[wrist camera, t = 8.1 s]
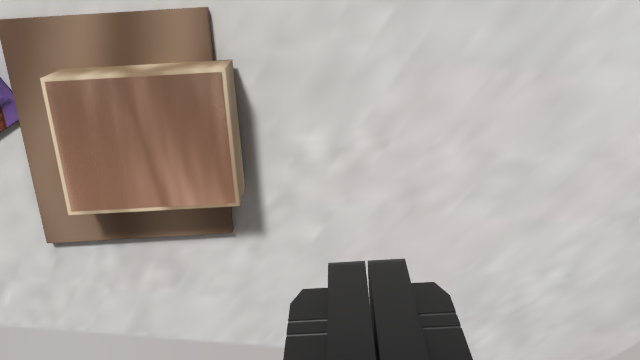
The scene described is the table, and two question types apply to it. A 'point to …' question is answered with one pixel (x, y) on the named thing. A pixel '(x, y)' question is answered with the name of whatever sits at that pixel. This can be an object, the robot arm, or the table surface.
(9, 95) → the snack package
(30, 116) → the walnut board
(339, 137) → the table surface
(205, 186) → the wooden block
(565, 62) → the table surface
